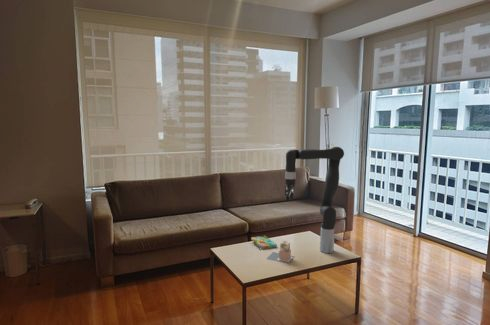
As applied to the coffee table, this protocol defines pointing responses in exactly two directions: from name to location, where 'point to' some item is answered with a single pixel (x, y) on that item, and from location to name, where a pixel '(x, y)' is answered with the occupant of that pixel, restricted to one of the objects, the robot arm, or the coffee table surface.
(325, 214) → the robot arm
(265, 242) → the puzzle game
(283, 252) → the terracotta base block
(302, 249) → the coffee table surface
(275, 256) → the blueprint board
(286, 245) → the maple cube
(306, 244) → the coffee table surface
